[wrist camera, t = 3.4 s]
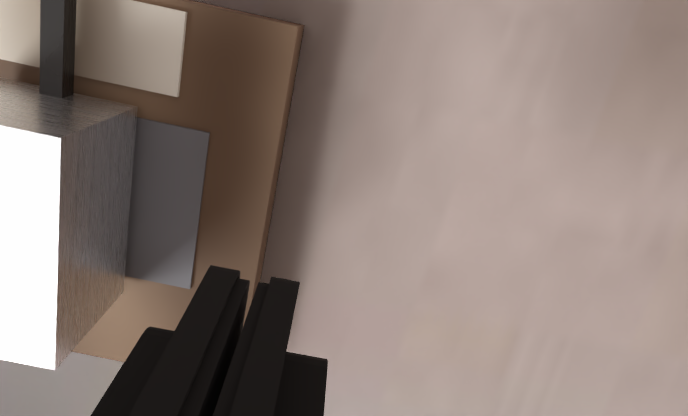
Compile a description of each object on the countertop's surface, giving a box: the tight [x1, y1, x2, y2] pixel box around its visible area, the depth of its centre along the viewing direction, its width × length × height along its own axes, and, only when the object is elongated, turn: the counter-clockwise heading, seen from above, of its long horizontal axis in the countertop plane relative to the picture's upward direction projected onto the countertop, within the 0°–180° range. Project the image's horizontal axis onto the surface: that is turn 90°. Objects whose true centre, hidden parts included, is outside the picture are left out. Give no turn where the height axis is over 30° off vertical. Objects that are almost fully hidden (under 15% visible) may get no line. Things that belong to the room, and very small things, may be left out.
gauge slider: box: [0, 0, 137, 370], centre depth 14 cm, size 4×9×4 cm, turn 168°
